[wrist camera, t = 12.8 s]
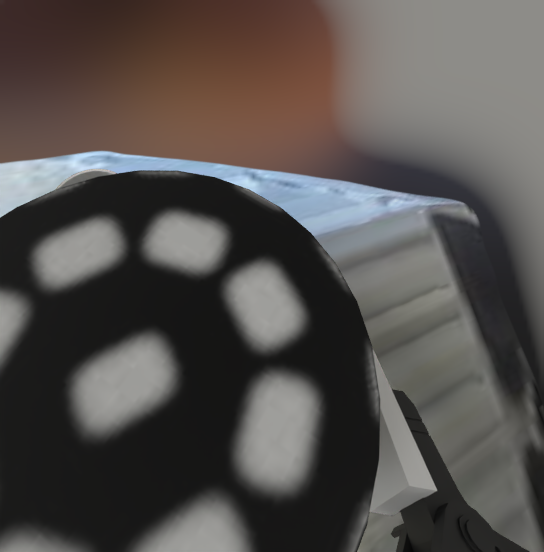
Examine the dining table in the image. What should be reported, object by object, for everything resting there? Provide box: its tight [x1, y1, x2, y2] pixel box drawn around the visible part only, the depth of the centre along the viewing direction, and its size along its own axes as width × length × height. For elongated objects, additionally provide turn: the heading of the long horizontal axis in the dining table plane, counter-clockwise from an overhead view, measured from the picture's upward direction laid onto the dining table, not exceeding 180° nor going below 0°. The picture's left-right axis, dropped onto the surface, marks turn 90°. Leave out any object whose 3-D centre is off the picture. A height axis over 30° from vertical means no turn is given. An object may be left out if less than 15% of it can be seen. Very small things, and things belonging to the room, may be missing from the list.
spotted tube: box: [0, 171, 380, 552], centre depth 13 cm, size 8×8×20 cm
